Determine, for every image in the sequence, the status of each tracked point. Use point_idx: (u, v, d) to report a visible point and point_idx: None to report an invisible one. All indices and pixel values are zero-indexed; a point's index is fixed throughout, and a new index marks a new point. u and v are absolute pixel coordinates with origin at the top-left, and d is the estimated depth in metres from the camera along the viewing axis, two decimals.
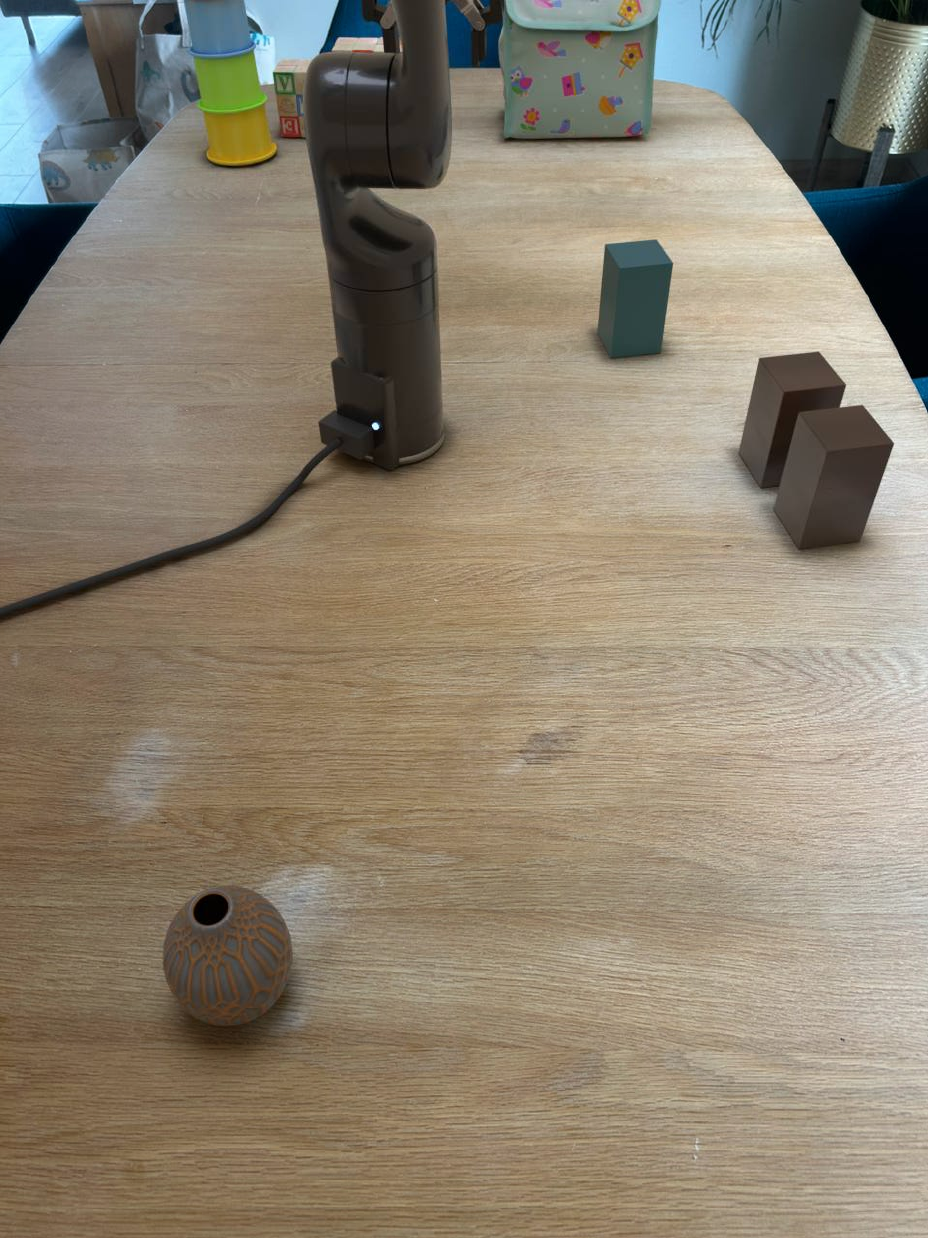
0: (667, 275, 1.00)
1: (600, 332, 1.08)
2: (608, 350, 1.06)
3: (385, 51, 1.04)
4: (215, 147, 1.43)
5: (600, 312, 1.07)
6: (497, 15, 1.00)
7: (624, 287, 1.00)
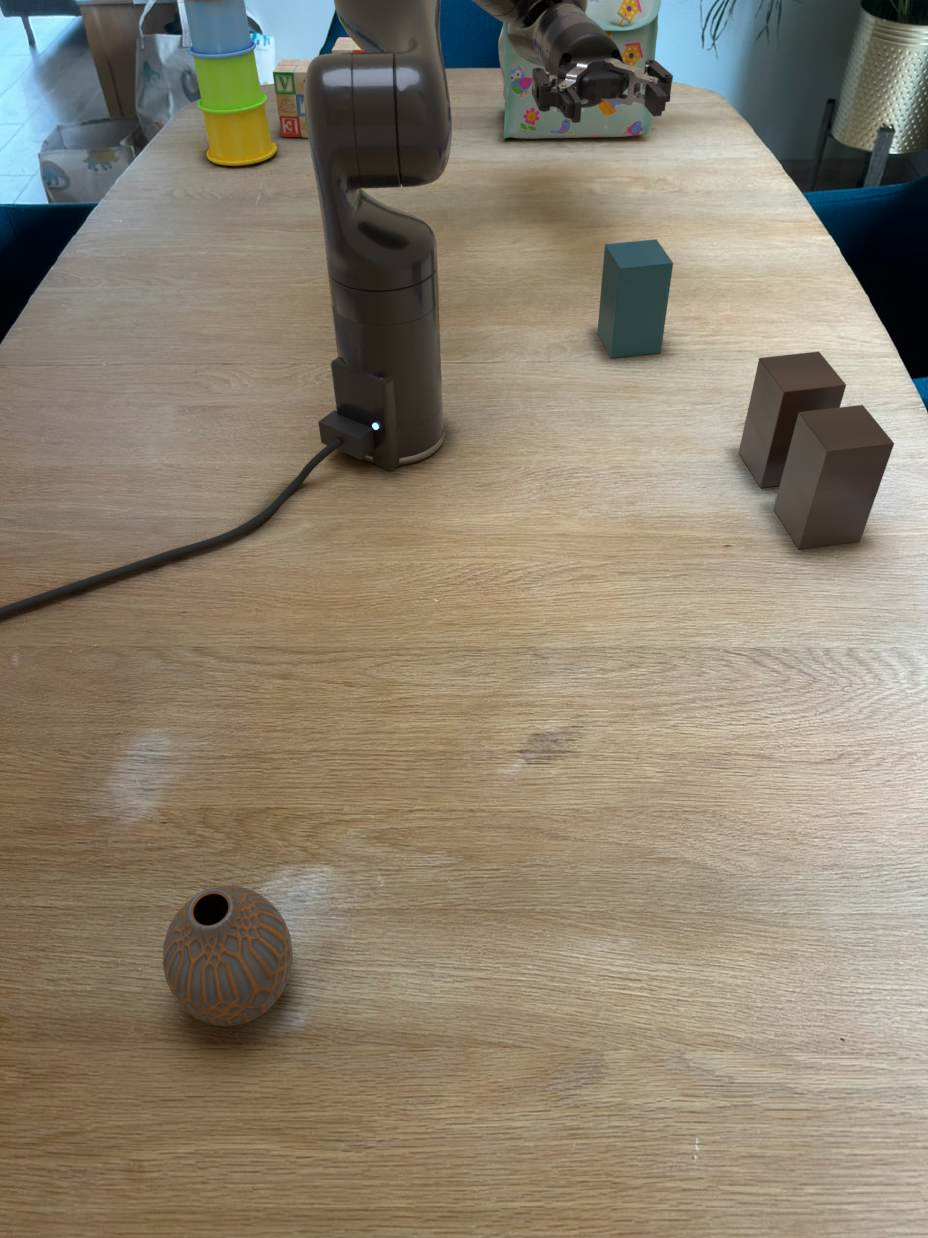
0: (667, 275, 1.00)
1: (600, 332, 1.08)
2: (608, 350, 1.06)
3: (566, 100, 1.01)
4: (215, 147, 1.43)
5: (600, 312, 1.07)
6: (667, 74, 1.05)
7: (624, 287, 1.00)
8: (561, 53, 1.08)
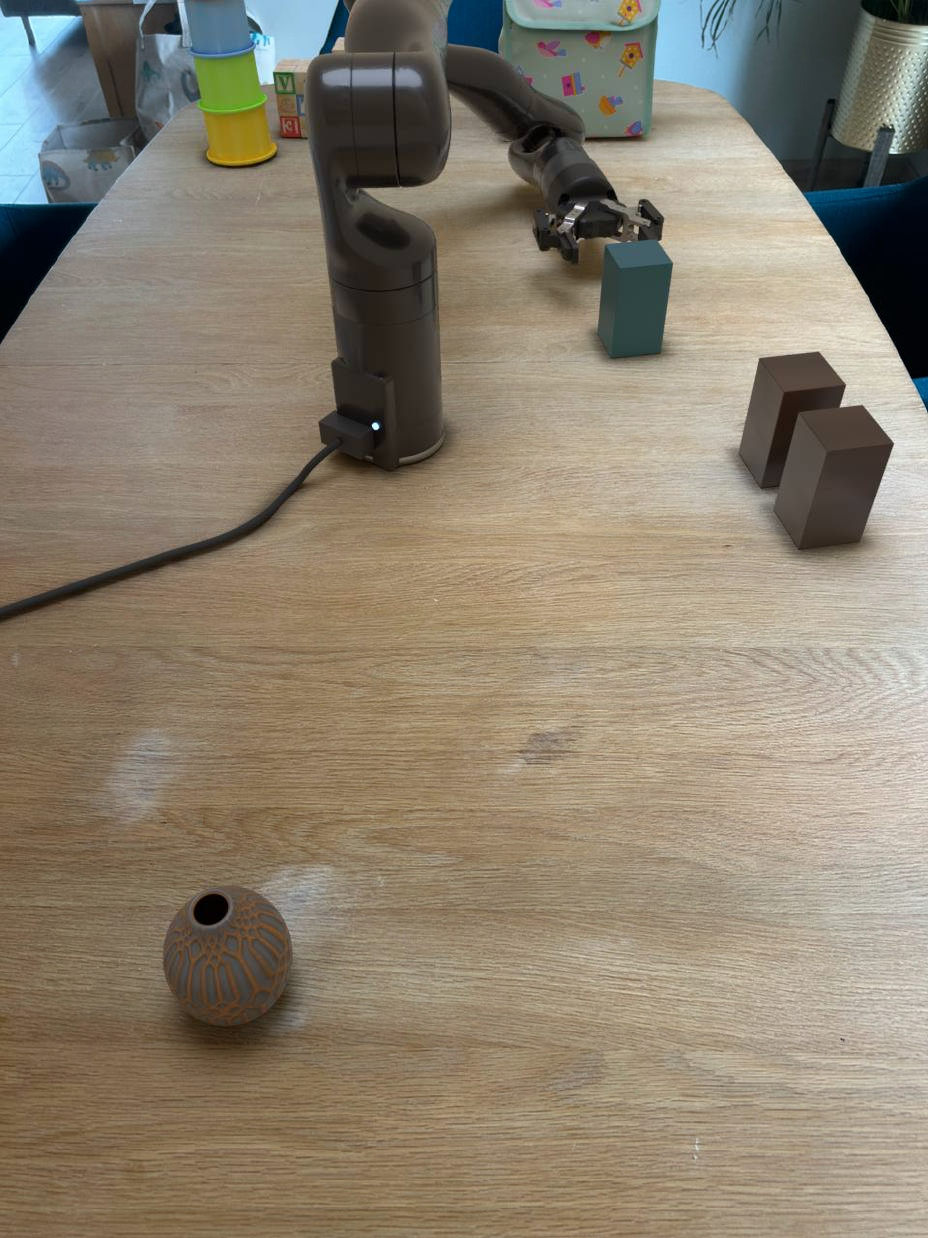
0: (667, 275, 1.00)
1: (600, 332, 1.08)
2: (608, 350, 1.06)
3: (565, 245, 1.09)
4: (215, 147, 1.43)
5: (600, 312, 1.07)
6: (659, 216, 1.12)
7: (624, 287, 1.00)
8: (560, 193, 1.15)
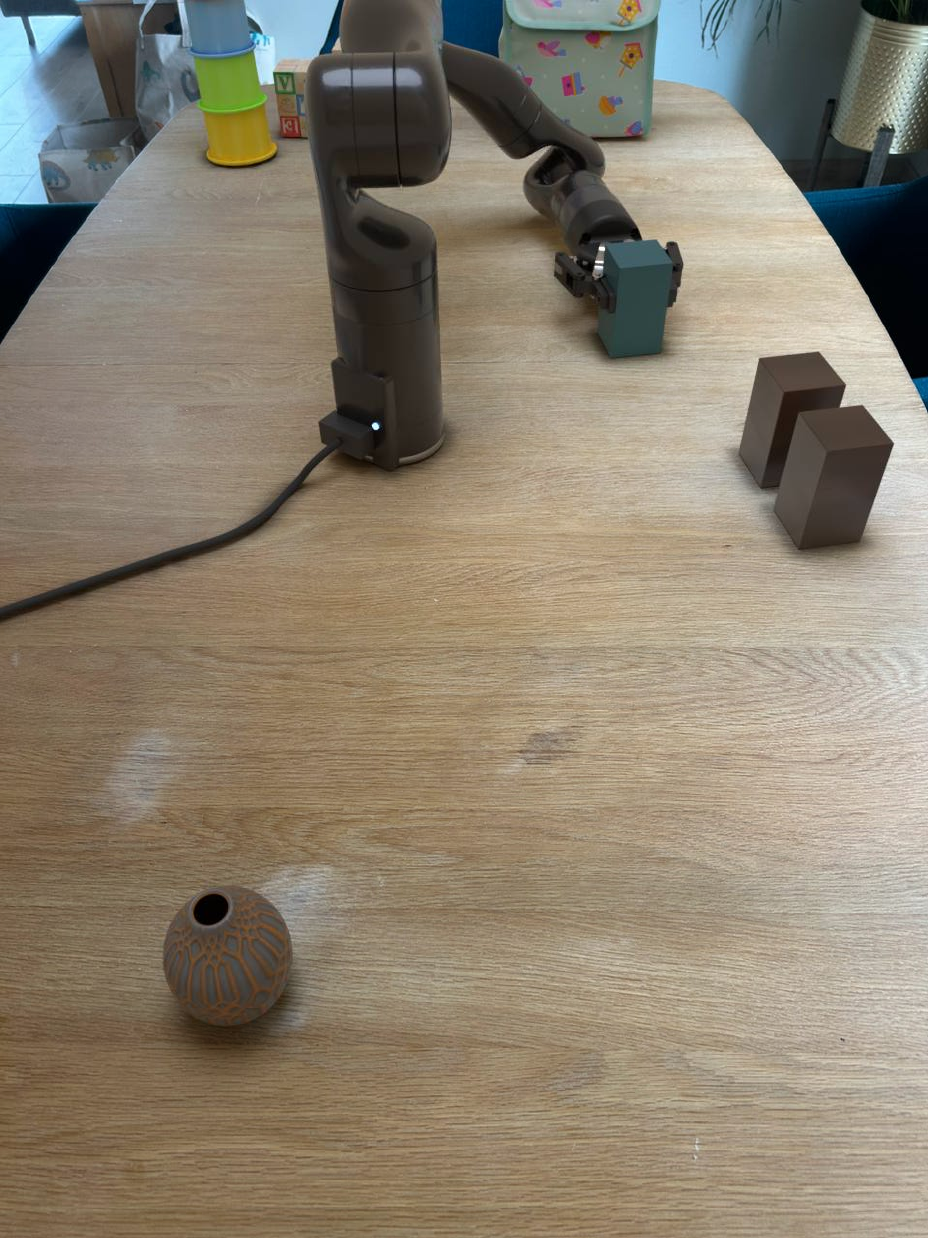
0: (667, 275, 1.00)
1: (600, 332, 1.08)
2: (608, 350, 1.06)
3: (601, 292, 1.02)
4: (215, 147, 1.43)
5: (600, 312, 1.07)
6: (678, 262, 1.05)
7: (624, 287, 1.00)
8: (581, 232, 1.09)
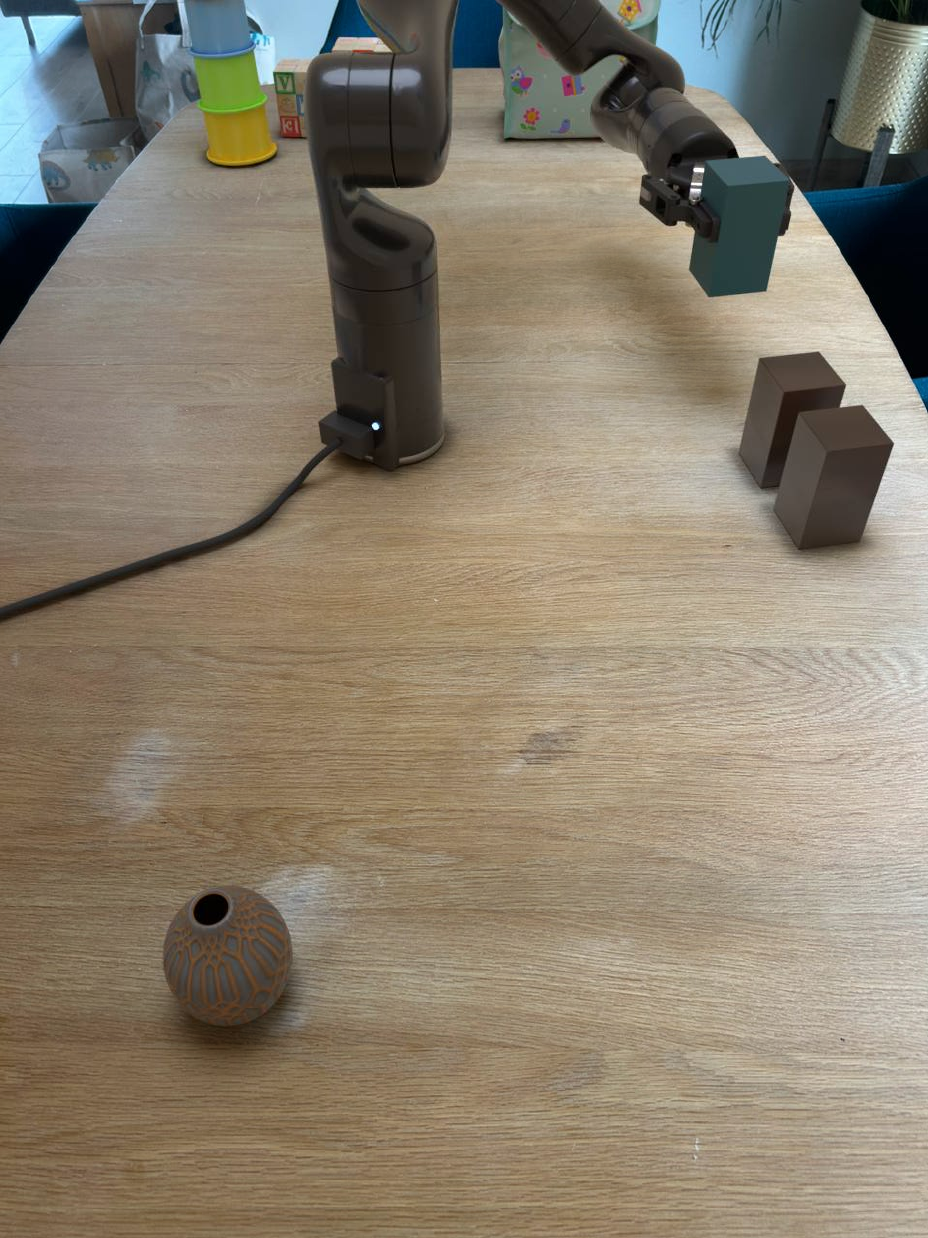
0: (782, 195, 0.84)
1: (693, 268, 0.93)
2: (705, 288, 0.91)
3: (701, 217, 0.86)
4: (215, 147, 1.43)
5: (694, 245, 0.92)
6: None
7: (731, 210, 0.85)
8: (670, 153, 0.93)
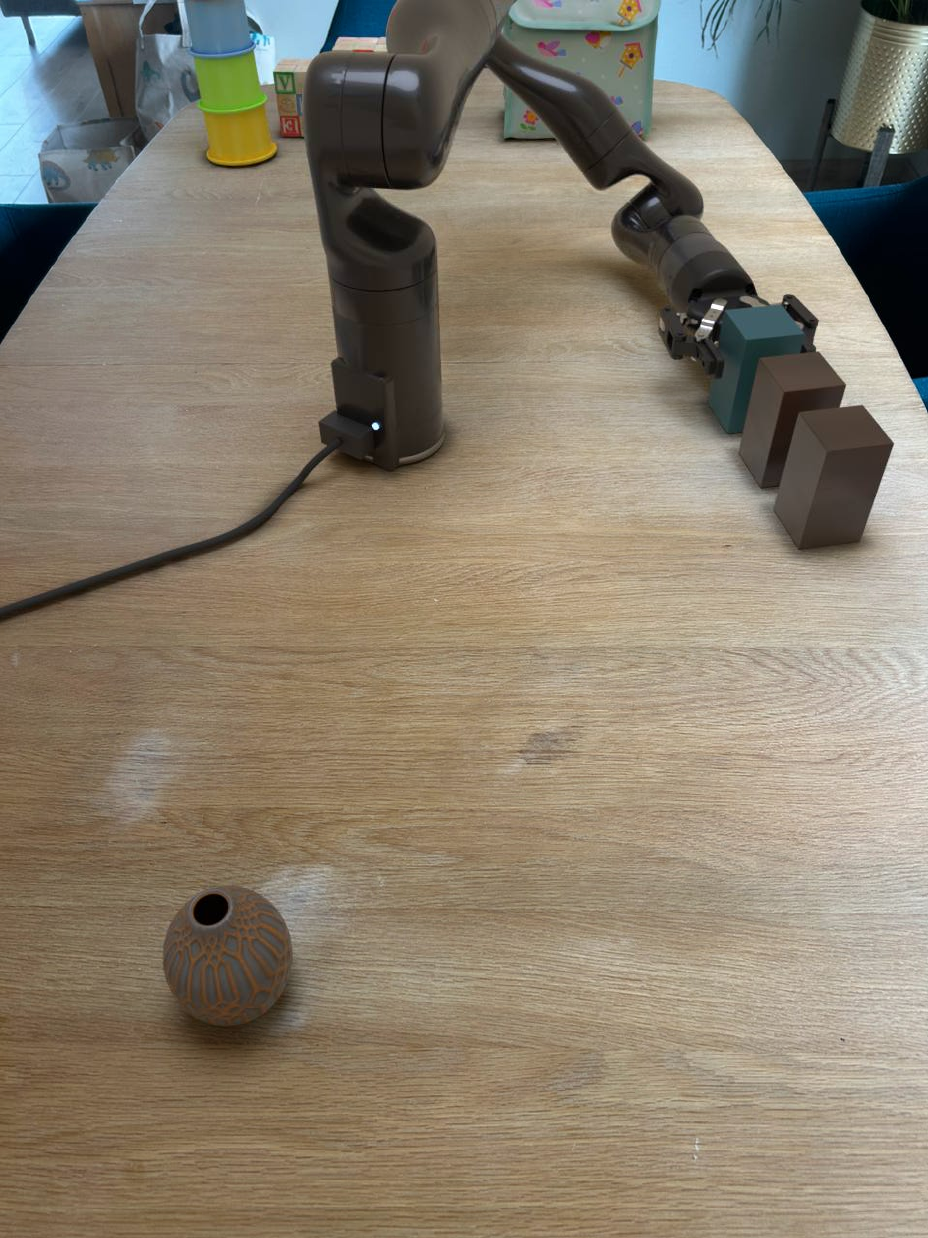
0: (797, 346, 0.90)
1: (712, 403, 0.98)
2: (723, 425, 0.96)
3: (706, 356, 0.91)
4: (215, 147, 1.43)
5: (713, 382, 0.97)
6: (812, 318, 0.95)
7: (749, 360, 0.90)
8: (691, 288, 0.98)
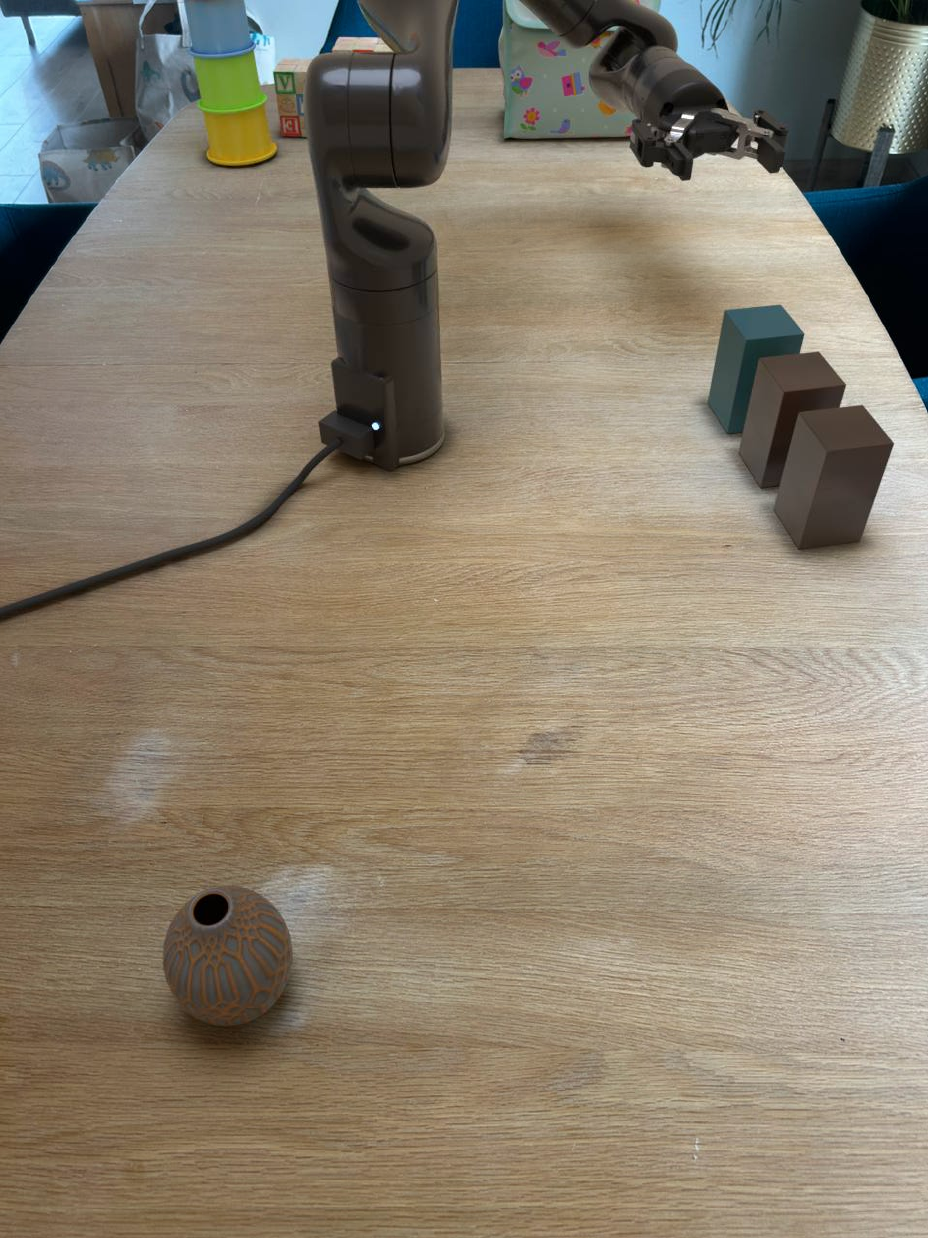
0: (797, 346, 0.90)
1: (712, 403, 0.98)
2: (723, 425, 0.96)
3: (675, 156, 0.91)
4: (215, 147, 1.43)
5: (713, 382, 0.97)
6: (782, 126, 0.95)
7: (749, 360, 0.90)
8: (662, 103, 0.98)
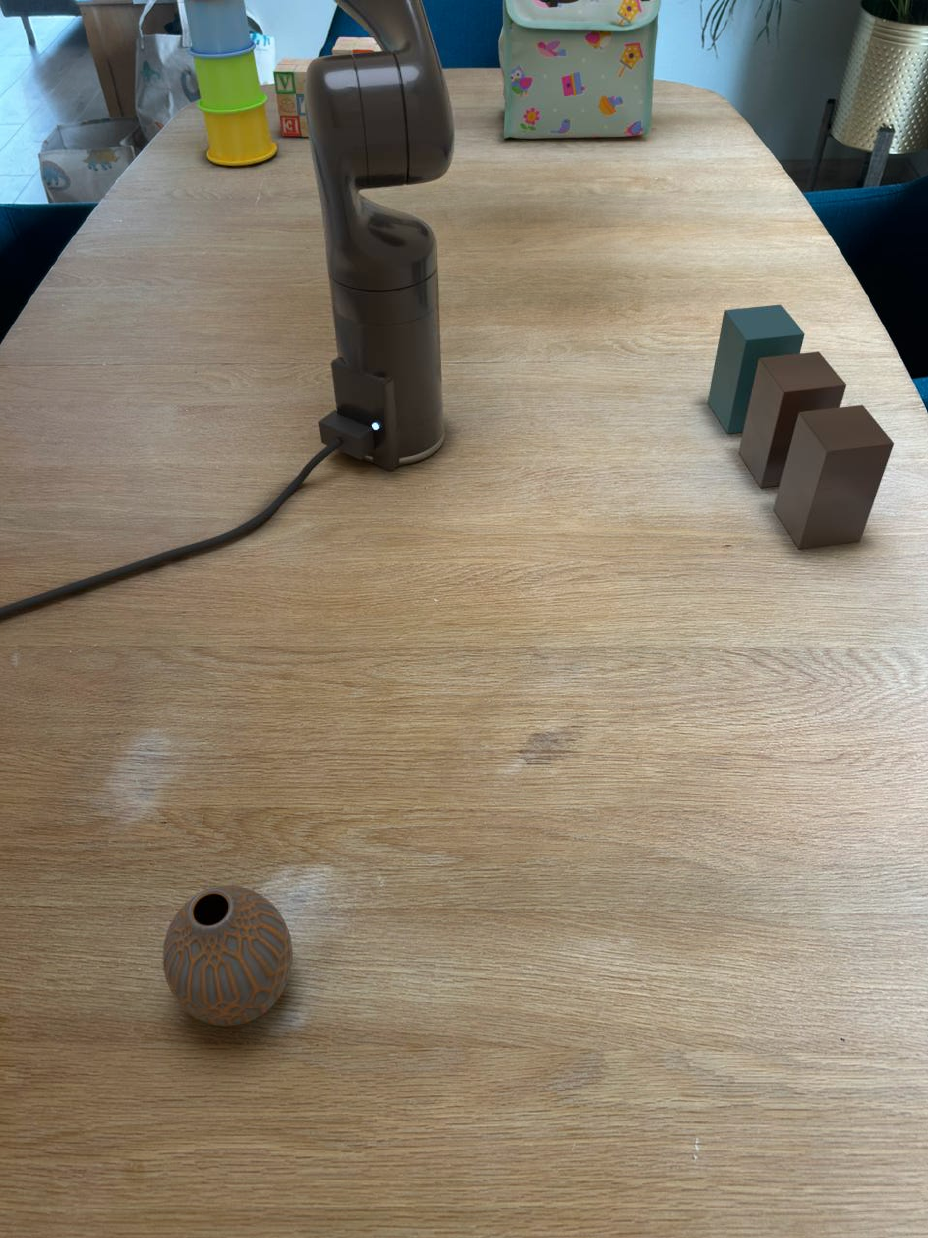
0: (797, 346, 0.90)
1: (712, 403, 0.98)
2: (723, 425, 0.96)
3: None
4: (215, 147, 1.43)
5: (713, 382, 0.97)
6: None
7: (749, 360, 0.90)
8: None
